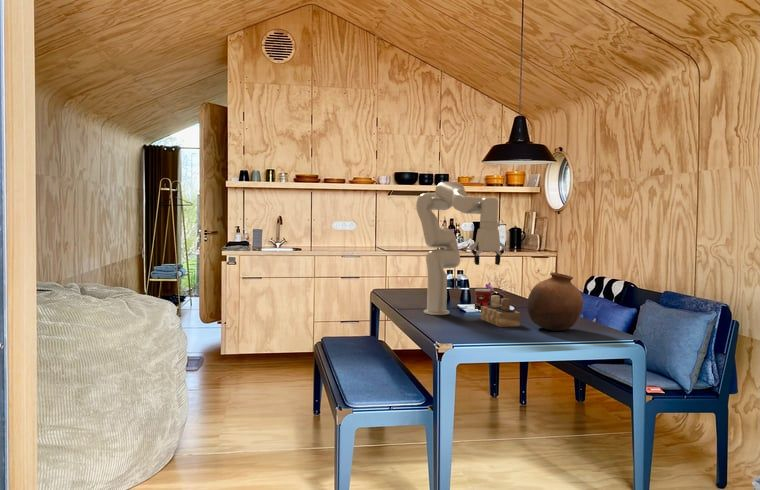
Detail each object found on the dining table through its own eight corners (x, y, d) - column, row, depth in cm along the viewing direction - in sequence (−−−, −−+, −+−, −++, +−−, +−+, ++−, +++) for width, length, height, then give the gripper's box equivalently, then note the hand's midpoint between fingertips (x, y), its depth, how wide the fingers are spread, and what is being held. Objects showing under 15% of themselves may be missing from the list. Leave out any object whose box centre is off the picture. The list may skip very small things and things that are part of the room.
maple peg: (489, 309, 287) (489, 295, 287) (497, 309, 288) (497, 295, 288) (493, 310, 283) (493, 296, 283) (501, 310, 285) (501, 296, 284)
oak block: (480, 319, 289) (481, 305, 289) (499, 318, 292) (500, 304, 292) (499, 326, 271) (500, 312, 271) (519, 326, 274) (520, 311, 274)
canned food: (472, 309, 315) (472, 288, 314) (486, 309, 317) (486, 288, 316) (478, 312, 307) (479, 290, 307) (493, 312, 310) (493, 290, 309)
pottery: (517, 326, 274) (519, 270, 272) (560, 323, 282) (562, 269, 280) (548, 336, 252) (550, 276, 251) (593, 333, 261) (596, 275, 259)
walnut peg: (498, 312, 278) (499, 298, 278) (506, 312, 279) (507, 298, 279) (503, 314, 274) (503, 299, 274) (511, 314, 275) (511, 299, 275)
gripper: (502, 225, 275) (501, 263, 276) (467, 225, 270) (465, 263, 272) (510, 226, 267) (508, 265, 269) (473, 226, 263) (472, 265, 264)
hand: (487, 264), depth 270 cm, fingers open, 9 cm apart
